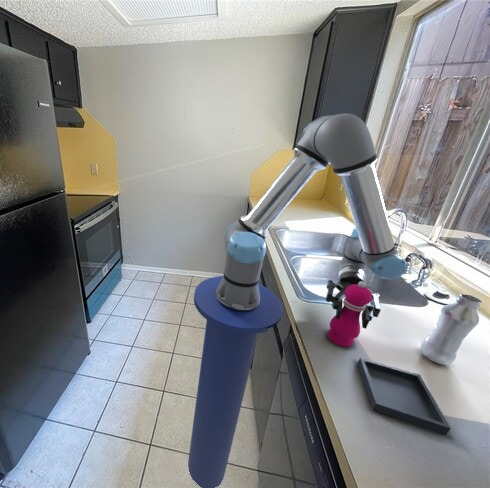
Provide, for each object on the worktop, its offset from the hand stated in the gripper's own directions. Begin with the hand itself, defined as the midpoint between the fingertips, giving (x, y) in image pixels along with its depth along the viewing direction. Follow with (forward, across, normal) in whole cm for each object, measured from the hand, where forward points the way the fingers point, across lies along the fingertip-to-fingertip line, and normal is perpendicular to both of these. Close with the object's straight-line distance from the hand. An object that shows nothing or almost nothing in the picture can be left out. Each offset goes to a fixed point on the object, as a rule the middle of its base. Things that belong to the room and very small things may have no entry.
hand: (352, 319), depth 68 cm
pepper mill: (-5, 0, -11) cm, 12 cm away
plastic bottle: (-13, -22, -11) cm, 28 cm away
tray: (+8, -12, -11) cm, 18 cm away
